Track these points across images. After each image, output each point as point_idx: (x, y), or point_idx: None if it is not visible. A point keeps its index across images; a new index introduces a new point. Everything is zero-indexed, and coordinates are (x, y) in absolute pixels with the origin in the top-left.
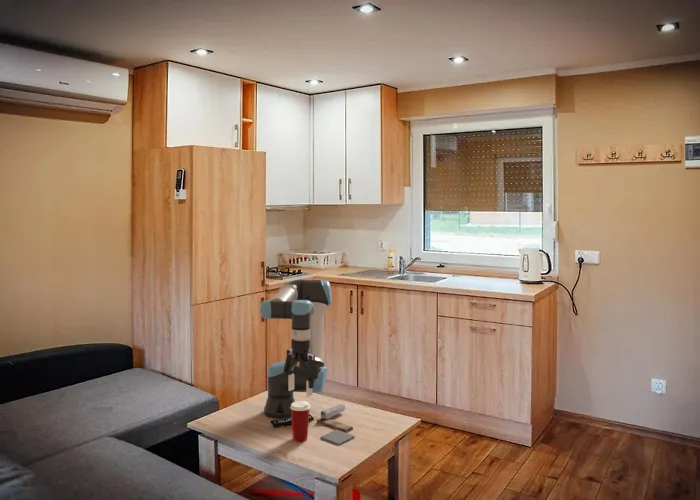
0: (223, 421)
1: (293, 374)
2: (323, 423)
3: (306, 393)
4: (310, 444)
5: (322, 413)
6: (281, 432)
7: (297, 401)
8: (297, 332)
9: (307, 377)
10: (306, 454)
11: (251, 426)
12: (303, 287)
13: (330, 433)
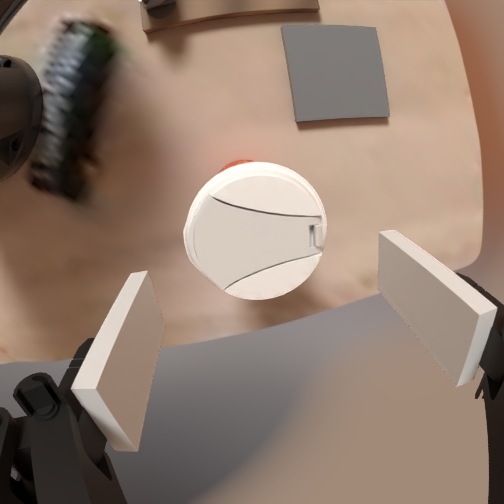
0: None
1: (105, 403)
2: (185, 22)
3: (389, 301)
4: None
5: (160, 3)
6: (139, 209)
7: (203, 228)
8: None
9: (487, 406)
10: (358, 248)
11: (43, 267)
12: None
13: (298, 68)
